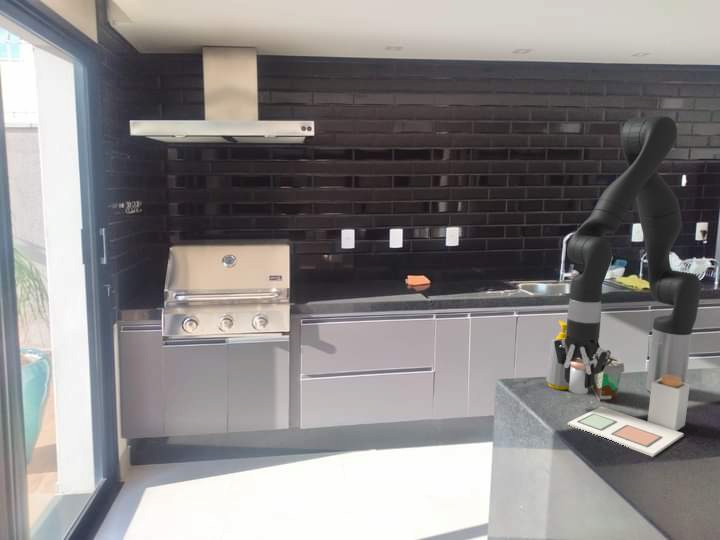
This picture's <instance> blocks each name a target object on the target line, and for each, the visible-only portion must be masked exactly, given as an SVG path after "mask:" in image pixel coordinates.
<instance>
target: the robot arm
mask: <svg viewBox="0 0 720 540" xmlns="http://www.w3.org/2000/svg"><path fill="white" fill-rule="evenodd" d="M677 127H678V126H677V124H676V122H675V121H674V119H673V118H671V117H670V116H667V115H666V116H665V115H654V116H644V117H643V116H642V117H634V118H629V119H628V120H627V121H626V122H625V123H624V125H622V130H621V133H620V143H621V148H622V153H623V155H624V158H625V162H626V165H627V169H626V170H625V171H624V172H623V173H622V174H621V175H620V176H618V177H617V178H616V179H615V180H613V181H612V183H610V184H609V185H608V187H606V189H605V190H604V191H603V192H602V194H601V196H600V197H599V199H598V201H597V202H596V205H595V206H594V208H593V210H592V212H591V214H590V216H589V217H588V218H587V219H586V220H585V221H584V222H583V223H582V224H581V225H580V226H579V228H578V229H576V231H575V232H574V233H573V235H572V236H571V237H570V239H569V240H568V244H567V248H566V253H567V257H568V259H569V260H570V261H571V262H572V263H576V264H578V265H584V266H585V268H584V271H583V273H582V274H575V275H574V276H572V278H571V282H570V291H569V292H570V295H569V302H568V308H567V313H566V314H567V317H566V318H567V320H566V324H567V329H566V331H565V332H566V334H567V337H566V338H565V339H564V340H563V339H558V340H556V341H554V344H555V349H556V354H557V359H558V363H559V364H562V365H564V367H565V380H566V382H567V383H569V381H570V368H571V366H570V362H571V361H572V360H574V359H582V360H583V363H584V365H585V367H586V372H587V374H586V377H585V388H587V389H588V390H589V389H591V388H592V387H593V385H594V378H595V374H598V373H601V372H603V370H604V368H605V366H606V363H607V361H608V359H609V356H610V355H611V354H612V352H611V350H609V349H607V350H605V349H604V348H601V346H600V343H599V339H600V333H601V332H600V331H601V318H602V294H603V293H602V291H603V284H604V282H605V279H606V277H607V273H608V271H609V269H610V266H611V263H612V261H613V256H614V255H613V248H612V244H611V242H610V241H609V240H608V239H606V238H604V236H605V235H608V234H612V233H613V234H614V233H616V232H617V231H618V230H619V228H620V226H621V225H622V223H623V221H624V219H625V217H626V216H627V213H629V210H630V208H631V206H632V205H633V203H634V200H636V205H637V212H638V216H639V221H640V226H641V230H642V234H643V235H642V236H643V241H644V246H645V253H646V260H647V261H646V263H647V272H648V273H647V274H648V285H649V286H648V287H649V291H650V294H651V297H652V298H653V300H655V302H657V303H659V304H663V305H669V306H673V307H672V308H673V309H672V312H671V313H670V314H669V315H661V316H657V317H655V318H654V319H653V322H652V331H651V333H652V334H651V339H650V340H651V341H650V351H649V360H648V367H647V368H648V369H647V374H646V375H647V377H646V385H645V386H646V387H645V389H646V390H647V392H650V393H651V387H652V382H654V381H656V380H658V379H660V378H662V375H665V374H668V375H674V376H678V377H680V378H681V382H682V383H686V384H687V376H688V375H687V374H688V367H689V359H690V352H691V351H690V350H691V343H692V335H693V329H694V325H695V323H696V321H697V315H698V311H699V310H698V309H699V304H700V299H701V294H702V283H701V279H700V278H699V276H698V275H696V274H695V273H691V272H685V271H680V270H679V271H678V270H673V269H672V266H671V262H670V252H671V250H672V247H673V245H674V244H675V242H676V240H677V239H678V236H679V234H680V232H681V230H682V227H683V222H682V215H681V209H680V203H679V200H678V197H677V196H676V194H675V192H674V191H673V189H671V187H670V186H669V185H668V183H666V181H665V180H664V178H662V176H661V175H660V173H659V172H658V170H657V169H658V168H659V166H660V165H661V164H662V162H663V161H664V160H665V158H666V157H667V156H668V154H670V152H671V150H672V149H673V148H674V145H675V144H676V141H677V138H678V128H677ZM565 346H567V348H568V350H569V352H568V354H567V356H566V351H565ZM595 353H598V357H599V359H598V362H597V364H596V366H595V357H594V356H595Z"/></svg>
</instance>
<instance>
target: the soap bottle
mask: <svg viewBox="0 0 720 540" xmlns="http://www.w3.org/2000/svg"><path fill="white" fill-rule="evenodd" d="M558 323H559V326H560V327H561V328H560V329H561V331H560V332H559V333H558V335H557V336H556V337H555V338H552V339H551V343H550V349H549V350H550V351H549V358H548V364H547V373H546V379H545V380H546V382H547V384H548V386H549V387H550V388H551V389H555V390H562V391H563V390H564V391H566V390H569V383H567V382H566V380H565V367H564V365H562V364H559V363H558V359H557V354H556V349H555V344H554V341H556V340H558V339H563V340H564V339H565V338H566V337H567V334H566V330H567V322H564V321H563V320H558ZM565 351H566V356H567V354H568V352H569V350H568V348H567V346H565Z"/></svg>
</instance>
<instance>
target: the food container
mask: <svg viewBox="0 0 720 540" xmlns="http://www.w3.org/2000/svg"><path fill="white" fill-rule="evenodd" d="M594 357H595V366H596V364H597V362H598V359H599V357H598V352H596V353H595V354H594ZM624 372H625V366H624V362H623V360H622V359H621V358H619V357H616V356H614V355H611V354H610V356H609V359H608V361H607V363H606V366H605V368H604V370H603V372H601V373H598V374H595V378H594V385H593V386H592V387H591V388H592V391H593V392H594V395H595V396H596V398H597V399H598V401H599V403H600V402H603V403H610V402H614V401H616V400H617V396H618V391H619V384H620V380H621V376H622V375H621V374H622V373H624Z"/></svg>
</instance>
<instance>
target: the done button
mask: <svg viewBox="0 0 720 540" xmlns="http://www.w3.org/2000/svg"><path fill="white" fill-rule="evenodd" d="M661 384H663V385H666V386H670V387H674V388H677V389H678V388H680V387H681V378H680V377H678V376H674V375H668V374H665V375H662V379H661Z"/></svg>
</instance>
